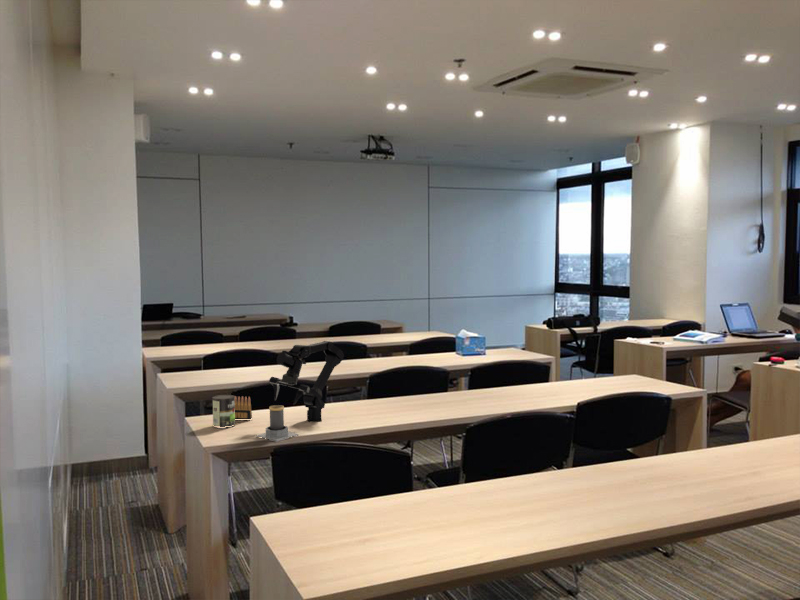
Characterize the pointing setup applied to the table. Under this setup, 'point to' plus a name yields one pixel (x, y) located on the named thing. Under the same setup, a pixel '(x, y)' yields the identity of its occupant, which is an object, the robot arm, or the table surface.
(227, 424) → the coffee can
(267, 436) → the duct collar
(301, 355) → the robot arm
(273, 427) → the grey cylindrical piece
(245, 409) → the ammunition clip
